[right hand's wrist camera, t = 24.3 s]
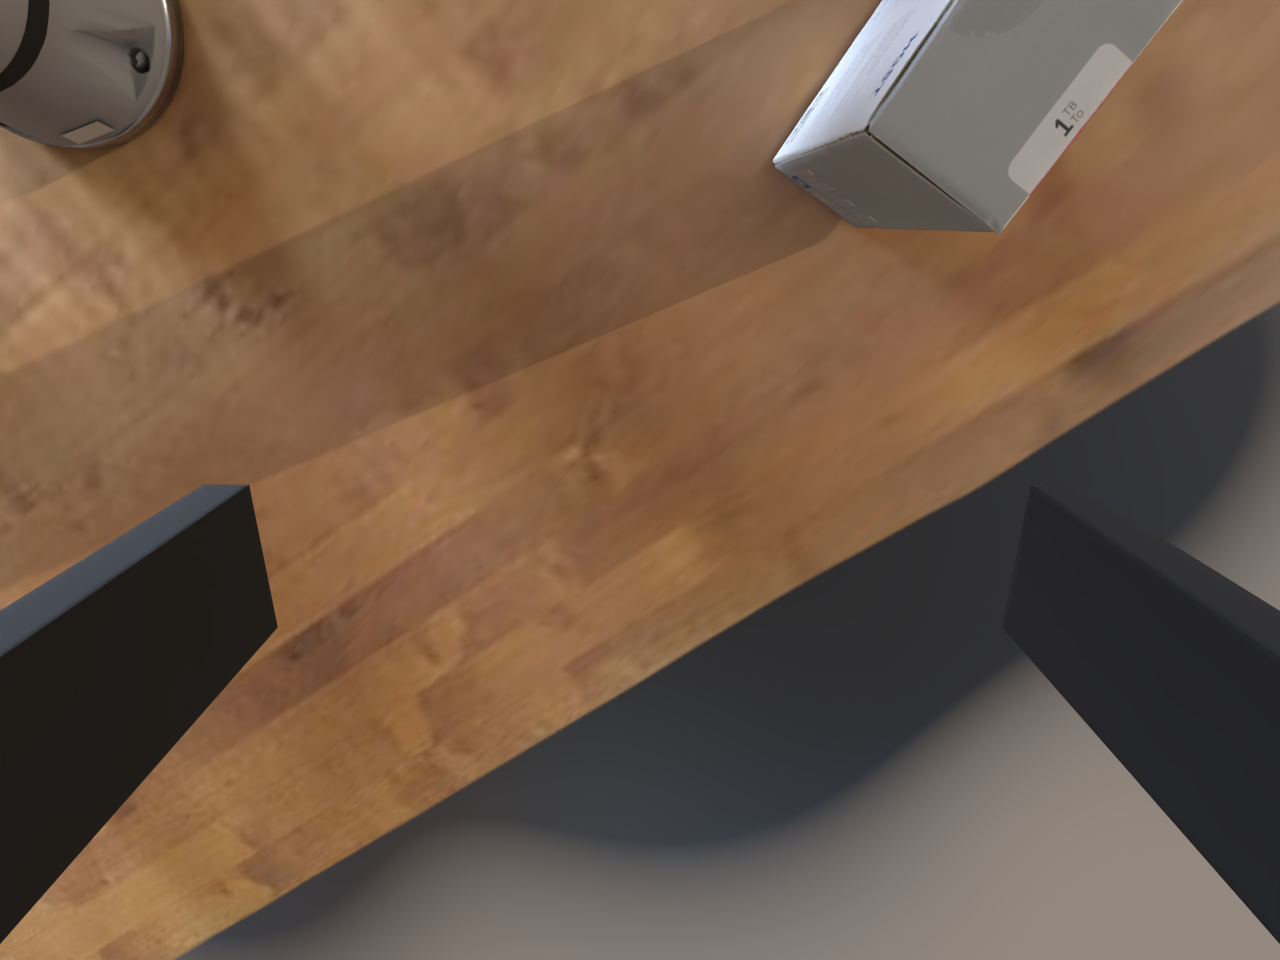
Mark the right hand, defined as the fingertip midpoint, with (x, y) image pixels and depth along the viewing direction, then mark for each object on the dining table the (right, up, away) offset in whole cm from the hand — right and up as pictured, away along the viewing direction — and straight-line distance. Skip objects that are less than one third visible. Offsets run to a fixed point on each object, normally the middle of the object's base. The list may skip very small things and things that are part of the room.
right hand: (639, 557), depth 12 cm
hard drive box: (+16, +26, +34) cm, 46 cm away
